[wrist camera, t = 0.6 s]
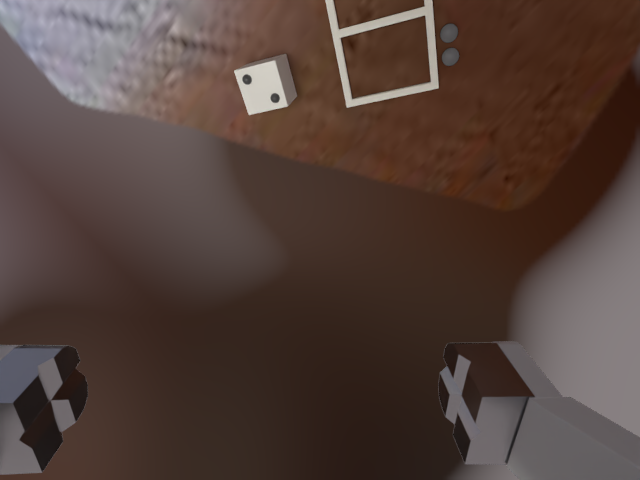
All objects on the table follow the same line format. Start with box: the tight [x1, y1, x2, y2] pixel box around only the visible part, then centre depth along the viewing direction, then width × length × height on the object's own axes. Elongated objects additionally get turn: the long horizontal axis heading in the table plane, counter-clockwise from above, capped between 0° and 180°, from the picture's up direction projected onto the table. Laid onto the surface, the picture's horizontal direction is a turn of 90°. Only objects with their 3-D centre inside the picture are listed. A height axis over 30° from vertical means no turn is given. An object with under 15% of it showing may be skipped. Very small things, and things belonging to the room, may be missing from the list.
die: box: [234, 54, 297, 115], centre depth 44 cm, size 5×5×6 cm
